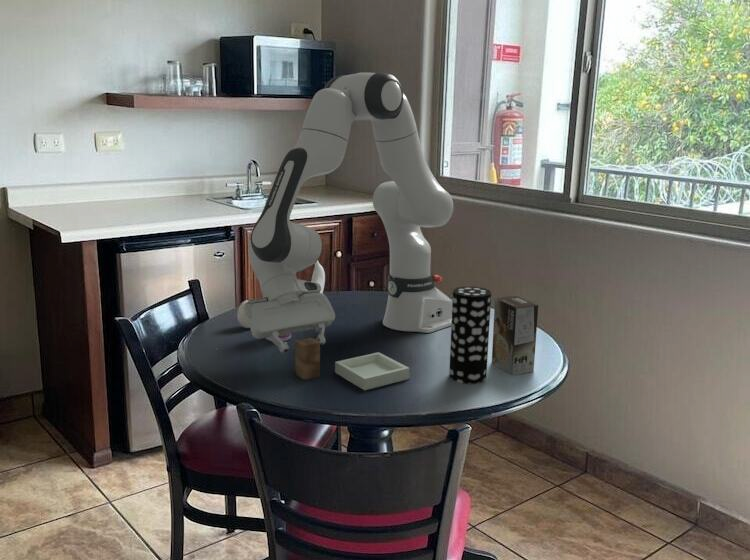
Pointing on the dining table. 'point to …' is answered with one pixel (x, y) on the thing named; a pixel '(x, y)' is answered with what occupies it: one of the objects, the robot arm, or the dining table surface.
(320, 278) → the banana
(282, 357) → the dining table surface
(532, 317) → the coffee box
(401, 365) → the dish
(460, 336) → the spotted tube
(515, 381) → the dining table surface
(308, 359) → the block
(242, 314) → the egg
